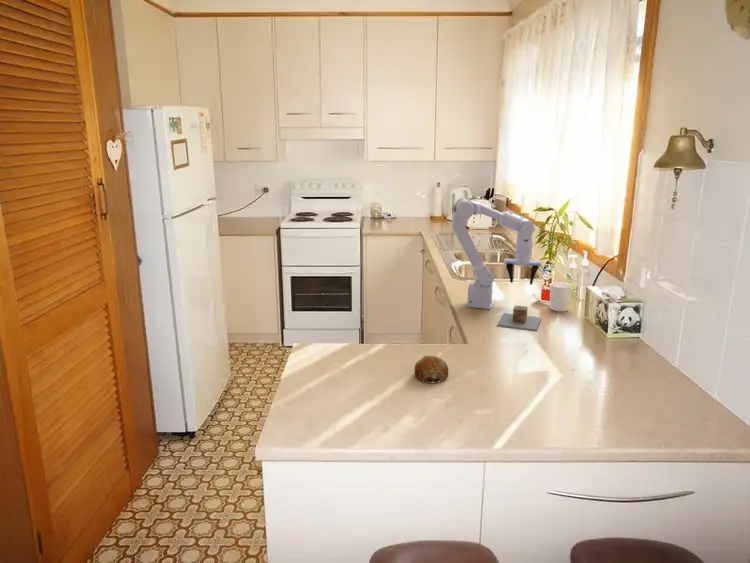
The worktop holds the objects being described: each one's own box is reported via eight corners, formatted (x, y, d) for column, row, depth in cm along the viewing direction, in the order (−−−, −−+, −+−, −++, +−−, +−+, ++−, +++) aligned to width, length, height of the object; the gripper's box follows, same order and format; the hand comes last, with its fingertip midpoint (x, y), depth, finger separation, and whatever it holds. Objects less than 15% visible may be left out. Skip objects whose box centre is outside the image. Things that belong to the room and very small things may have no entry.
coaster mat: (496, 326, 205) (497, 324, 205) (503, 314, 218) (503, 313, 218) (536, 331, 200) (536, 329, 200) (541, 319, 213) (541, 317, 213)
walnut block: (512, 321, 208) (513, 308, 207) (514, 318, 212) (515, 305, 211) (525, 323, 206) (525, 310, 205) (526, 319, 210) (527, 306, 209)
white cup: (566, 306, 228) (568, 282, 225) (571, 312, 220) (573, 287, 217) (546, 305, 228) (548, 281, 226) (550, 311, 221) (552, 287, 218)
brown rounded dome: (450, 386, 166) (454, 359, 167) (440, 385, 157) (445, 357, 158) (418, 380, 170) (423, 354, 171) (407, 379, 161) (412, 351, 162)
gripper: (503, 250, 222) (501, 283, 225) (541, 253, 216) (538, 287, 220) (506, 246, 228) (504, 279, 232) (543, 249, 223) (540, 282, 226)
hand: (521, 283), depth 226 cm, fingers open, 7 cm apart
